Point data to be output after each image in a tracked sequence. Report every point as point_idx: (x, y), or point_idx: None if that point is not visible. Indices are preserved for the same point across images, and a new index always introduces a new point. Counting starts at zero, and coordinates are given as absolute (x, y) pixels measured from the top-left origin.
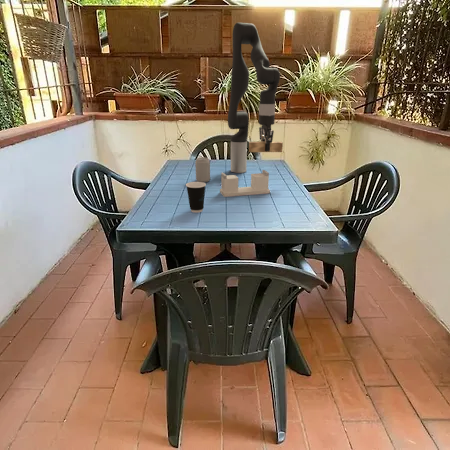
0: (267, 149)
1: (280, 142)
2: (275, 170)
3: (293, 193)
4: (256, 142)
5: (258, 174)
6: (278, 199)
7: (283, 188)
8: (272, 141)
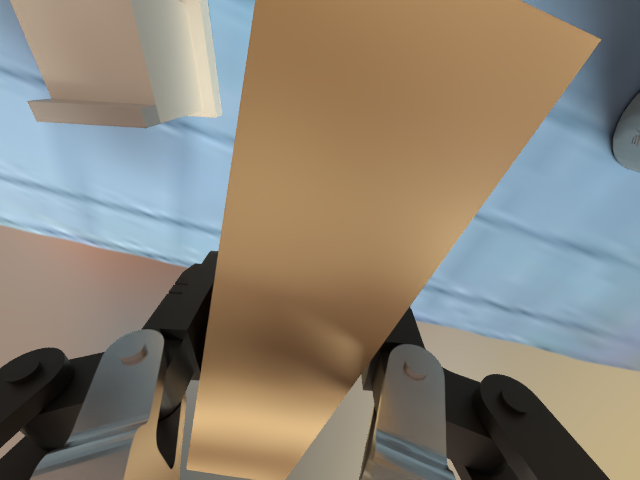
0: (187, 279)
1: (214, 464)
2: (517, 301)
3: (134, 217)
4: (274, 205)
5: (105, 48)
6: (19, 108)
7: (216, 211)
8: (313, 439)
